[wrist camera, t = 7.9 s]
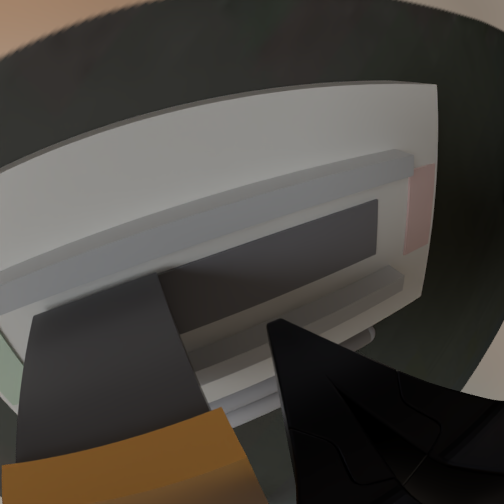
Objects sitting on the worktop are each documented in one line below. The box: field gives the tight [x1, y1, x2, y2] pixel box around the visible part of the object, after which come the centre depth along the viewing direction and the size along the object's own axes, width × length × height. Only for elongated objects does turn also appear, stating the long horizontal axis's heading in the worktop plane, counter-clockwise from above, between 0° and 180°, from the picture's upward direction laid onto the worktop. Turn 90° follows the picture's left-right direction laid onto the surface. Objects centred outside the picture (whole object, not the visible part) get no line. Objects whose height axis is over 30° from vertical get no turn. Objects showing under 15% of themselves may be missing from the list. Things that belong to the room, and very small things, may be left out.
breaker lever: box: [2, 272, 269, 504], centre depth 6 cm, size 4×3×6 cm
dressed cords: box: [208, 326, 375, 428], centre depth 17 cm, size 17×3×1 cm, turn 99°
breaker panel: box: [0, 80, 438, 415], centre depth 11 cm, size 20×11×4 cm, turn 99°
